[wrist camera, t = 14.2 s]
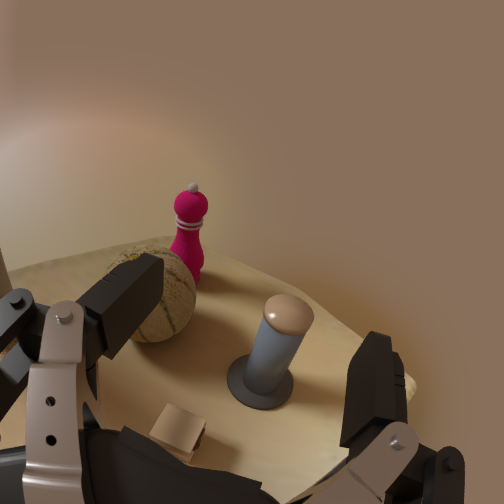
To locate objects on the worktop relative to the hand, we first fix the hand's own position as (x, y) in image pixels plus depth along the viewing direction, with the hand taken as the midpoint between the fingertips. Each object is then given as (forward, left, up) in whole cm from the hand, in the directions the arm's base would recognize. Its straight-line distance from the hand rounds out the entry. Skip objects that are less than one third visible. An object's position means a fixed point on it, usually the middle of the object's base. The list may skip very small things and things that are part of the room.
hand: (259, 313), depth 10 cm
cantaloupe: (-18, +20, -30) cm, 40 cm away
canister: (+2, +18, -29) cm, 35 cm away
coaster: (+2, +18, -30) cm, 35 cm away
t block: (-5, +4, -30) cm, 31 cm away
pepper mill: (-19, +35, -30) cm, 50 cm away
